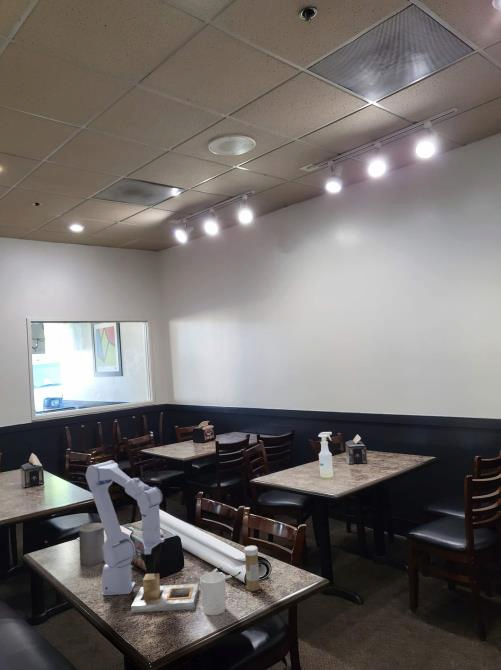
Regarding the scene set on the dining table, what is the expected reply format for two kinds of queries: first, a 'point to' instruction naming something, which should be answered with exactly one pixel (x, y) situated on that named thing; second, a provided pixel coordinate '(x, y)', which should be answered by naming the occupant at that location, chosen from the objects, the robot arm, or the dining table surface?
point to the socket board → (167, 599)
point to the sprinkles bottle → (252, 567)
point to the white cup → (213, 592)
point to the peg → (151, 587)
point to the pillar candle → (91, 544)
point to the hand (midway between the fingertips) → (153, 568)
